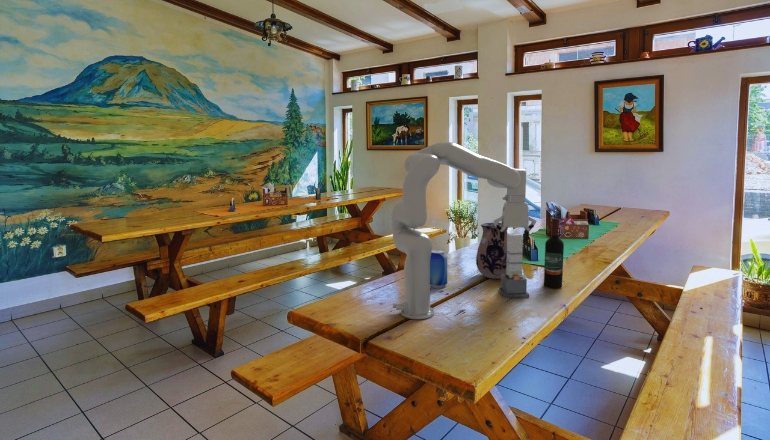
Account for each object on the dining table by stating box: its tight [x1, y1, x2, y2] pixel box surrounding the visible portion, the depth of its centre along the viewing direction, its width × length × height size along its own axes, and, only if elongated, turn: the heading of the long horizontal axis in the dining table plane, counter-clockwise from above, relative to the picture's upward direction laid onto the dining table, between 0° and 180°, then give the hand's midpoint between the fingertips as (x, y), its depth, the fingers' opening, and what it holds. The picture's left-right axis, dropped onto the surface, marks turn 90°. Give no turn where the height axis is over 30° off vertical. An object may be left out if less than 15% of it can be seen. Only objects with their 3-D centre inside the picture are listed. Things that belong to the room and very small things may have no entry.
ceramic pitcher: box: [475, 222, 509, 280], centre depth 218 cm, size 18×21×25 cm
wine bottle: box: [543, 217, 565, 290], centre depth 200 cm, size 8×8×30 cm
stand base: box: [498, 274, 530, 299], centre depth 193 cm, size 10×10×9 cm
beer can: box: [430, 248, 448, 289], centre depth 206 cm, size 8×8×16 cm
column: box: [506, 232, 524, 279], centre depth 191 cm, size 5×5×18 cm
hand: (514, 240), depth 189 cm, fingers open, 9 cm apart
